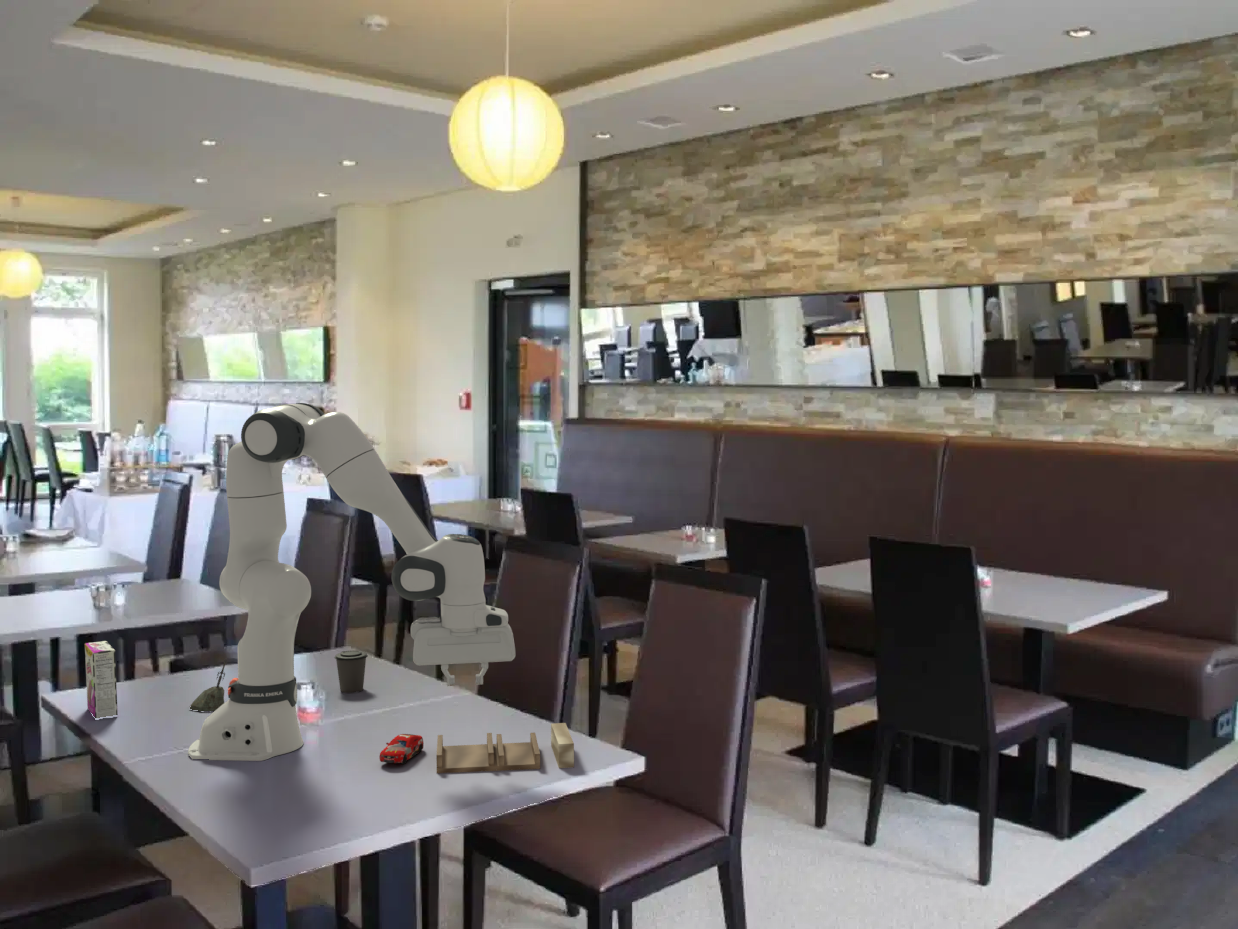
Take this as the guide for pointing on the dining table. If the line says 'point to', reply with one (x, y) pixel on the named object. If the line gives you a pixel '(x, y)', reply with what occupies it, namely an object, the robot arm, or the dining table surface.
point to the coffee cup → (351, 670)
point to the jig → (488, 756)
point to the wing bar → (562, 745)
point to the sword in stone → (210, 697)
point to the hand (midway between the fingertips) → (465, 684)
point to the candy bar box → (101, 679)
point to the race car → (402, 748)
